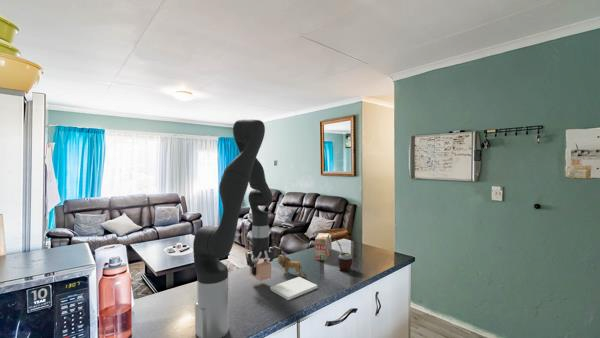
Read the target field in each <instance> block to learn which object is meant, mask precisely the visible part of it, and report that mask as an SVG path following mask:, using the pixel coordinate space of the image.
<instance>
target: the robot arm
mask: <svg viewBox="0 0 600 338" xmlns="http://www.w3.org/2000/svg"><path fill="white" fill-rule="evenodd" d="M265 132H266V128H265V123H264V122H263V121H262V120H259V119H246V118H245V119H236V120H235V122H234V123H233V127H232V134H233V139H234V141H235V144H236V147H237V149H238V151H239V154H238V155H237V156H236V157H234V159H233V160H232V161H231V162H230V163H229V164H227V166H226V167H225V169H224V171H223V174H222V176H221V180H220V182H219V187H218V191H219V196H220V200H221V205H222V215H221V220H220V222H219V225H218V226H213V225H204V226H202V227H200V228H198V230H197V231H196V233H195V235H194V238H193V244H192V245H193V247H192V248H193V249H192V250H193V251H192V252H193V265H194V267H193V268H194V271H195V274H196V278H197V279H196V282H197V283H196V285H197V286H196V287H197V292H196V293H197V302H196V303H195V304H194V305H195V307H194V309H195V311H194V312H195V315H194V316H195V321H194V323H195V325H194V326H195V327H194V329H195V331H194V332H195V335H196V336H197V337H198V338H224V337H226V336H227V334H228V333H229V323H230V322H229V268H228V266H227V265H226V264H224V263H223V262H221V260H220V259H225V258H226V257H228V255H229V254H230V253H231V250H232V248H233V245H234V242H235V237H236V233H237V229H238V228H237V227H238V222H239V217H240V213H241V208H242V206H243V202H244V198H245V196H246V193H247V189H248V186H249V187H250V188H251V189H252V190H251V191H249V193H248V203H249V206H250V210H251V216H252V217H251V218H252V226H251V227H252V228H251V247H252V248H251V251H249V252H248V251H246V252H245V260H246V265H247V266H248V267H249V268H250V267H251V270H252V272H251V273H252V274H253V275H254V276H256V265H257V262H258V261H259V259H262V260H264V261H266V262H269V263H271V262H273V261H274V256H275V254H274V253H275V247H273V246H270V247H269V245H270V228H269V227H270V225H269V212H267V211H266V210H262V209H260V208H259V207H268V206H270V205H272V203H273V200H274V197H273V196H274V195H273V192H272V190H271V188H270V187H269V185H268V183H267V180H266V174H265V170H264V167H263V165H262V163H261V162H260V161H259V159H258V158H257V156H258V154H259V152H260V149H261V147H262V144H263V141H264V139H265Z"/></svg>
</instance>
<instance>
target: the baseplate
mask: <svg viewBox="0 0 600 338" xmlns="http://www.w3.org/2000/svg"><path fill="white" fill-rule="evenodd" d="M316 289H318V284H315V283H313V282H311V281H309V280H307V279H305V278H303V277H299V276H297V277H294V278H292V279H289V280H286V281H283V282H280V283H277V284H275V285H273V286H270V289H269V290H270V291H272V292H273V293H275V294H276V295H278V296H280V297H281V298H283V299H284V300H287V301H291V300H293V299H294V298H297V297H299V296H302V295H304V294H307V293H309V292H311V291H314V290H316Z"/></svg>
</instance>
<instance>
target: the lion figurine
mask: <svg viewBox="0 0 600 338" xmlns="http://www.w3.org/2000/svg"><path fill="white" fill-rule="evenodd" d="M277 263H278V265H280V266H281V268H284V271H285V272H284V273H283V274H284V275H285V276H287V275H288V273H289V271H290V270H289V269H291V270H294V269H295V271H296V275H298V277H301V278H303V276H307V274H306V273H304V270H303V267H302V264H301V262H300V261H296V260H295V261H294V260H291V259H290V258H289V257H288V256H286V255H284V254H279V255H278V257H277Z"/></svg>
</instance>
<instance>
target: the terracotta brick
mask: <svg viewBox="0 0 600 338" xmlns="http://www.w3.org/2000/svg"><path fill="white" fill-rule="evenodd" d="M251 272H252V270H251V267H250V266H249V275H250V276H251V277H253V278H255V279H256V280H258V281H260V282H261V281H264V280H267V279H271V278H272V263H271V262H270V263H269V262H266V261H264V259H263V258H261V259H259V261H258V262H257V265H256V276H254V275H253V274H252V273H251Z"/></svg>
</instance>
